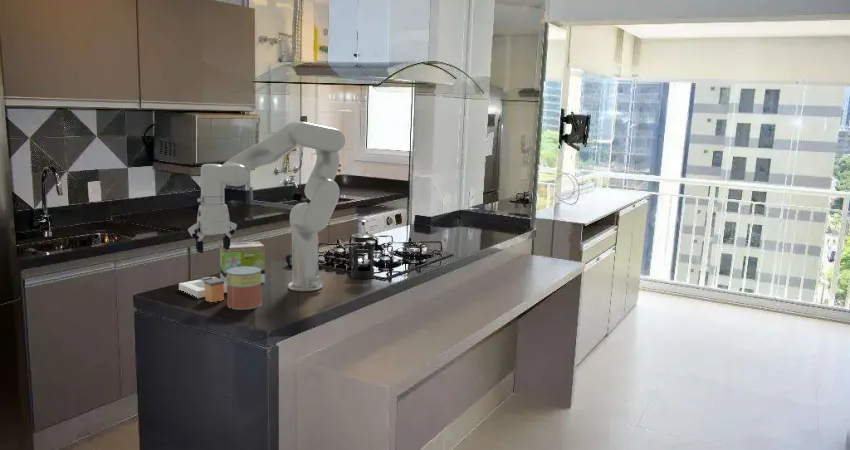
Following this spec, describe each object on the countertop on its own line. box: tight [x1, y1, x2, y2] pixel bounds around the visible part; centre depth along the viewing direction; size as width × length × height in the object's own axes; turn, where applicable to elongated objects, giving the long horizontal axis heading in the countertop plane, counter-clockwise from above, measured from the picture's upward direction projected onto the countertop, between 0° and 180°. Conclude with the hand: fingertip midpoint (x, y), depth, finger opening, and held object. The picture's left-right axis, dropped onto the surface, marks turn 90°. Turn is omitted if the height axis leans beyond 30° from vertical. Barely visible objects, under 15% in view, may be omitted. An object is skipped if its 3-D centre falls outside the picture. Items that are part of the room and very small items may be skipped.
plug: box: [204, 277, 225, 303], centre depth 222 cm, size 5×5×7 cm
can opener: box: [285, 253, 326, 270], centre depth 272 cm, size 18×7×6 cm, turn 73°
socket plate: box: [178, 276, 227, 299], centre depth 234 cm, size 14×14×3 cm
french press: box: [348, 219, 375, 281], centre depth 257 cm, size 12×9×23 cm
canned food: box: [226, 266, 263, 311], centre depth 218 cm, size 11×11×12 cm
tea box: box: [219, 241, 266, 284], centre depth 246 cm, size 15×10×15 cm, turn 117°
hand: (213, 250), depth 221 cm, fingers open, 9 cm apart
